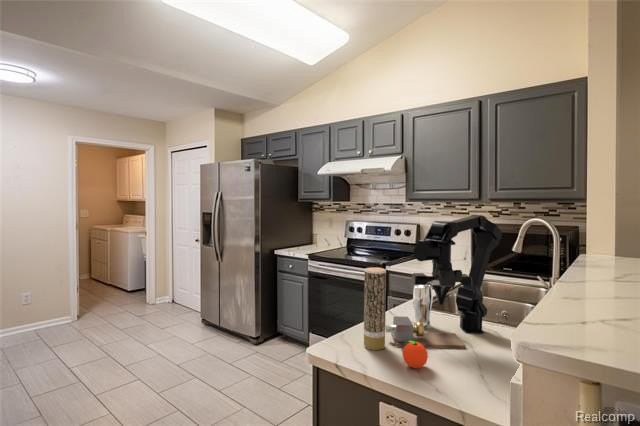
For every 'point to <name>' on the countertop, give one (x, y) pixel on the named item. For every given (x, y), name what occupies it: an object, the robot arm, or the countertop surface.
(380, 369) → the countertop surface
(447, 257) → the robot arm
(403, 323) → the bearing block
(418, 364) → the clementine
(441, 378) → the countertop surface
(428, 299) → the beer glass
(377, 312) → the brown patterned cylinder
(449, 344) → the base board
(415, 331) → the shaft
